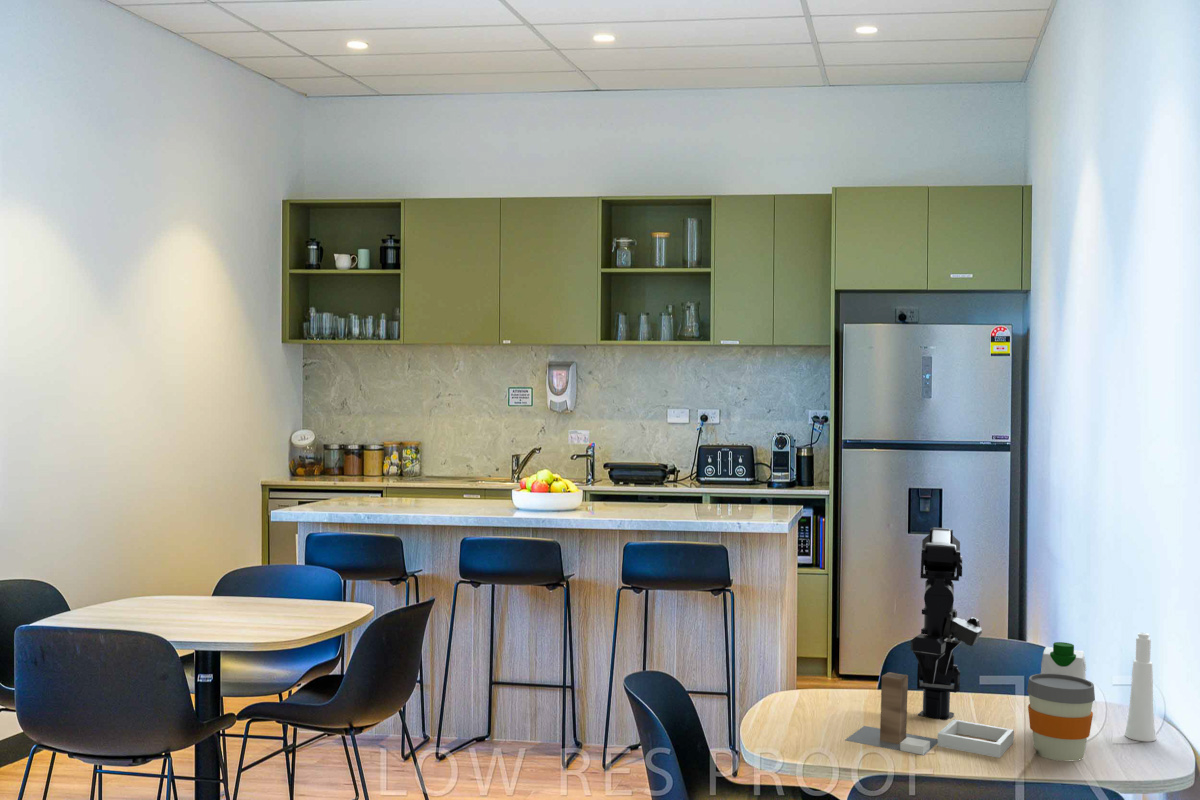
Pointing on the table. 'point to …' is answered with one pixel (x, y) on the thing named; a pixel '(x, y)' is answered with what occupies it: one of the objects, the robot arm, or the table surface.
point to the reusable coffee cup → (1060, 715)
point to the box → (994, 749)
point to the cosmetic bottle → (1141, 694)
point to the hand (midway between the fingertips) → (936, 679)
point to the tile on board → (915, 745)
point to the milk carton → (1063, 660)
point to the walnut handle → (893, 707)
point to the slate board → (873, 738)
